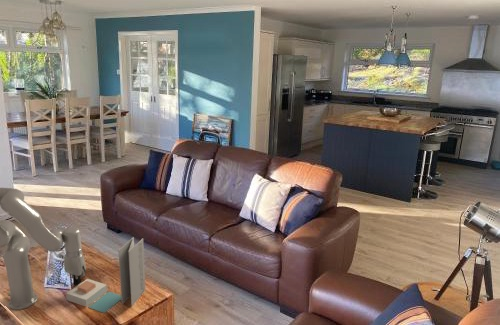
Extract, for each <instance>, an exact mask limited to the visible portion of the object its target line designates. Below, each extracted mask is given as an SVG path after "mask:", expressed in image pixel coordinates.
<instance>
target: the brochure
mask: <svg viewBox="0 0 500 325" xmlns="http://www.w3.org/2000/svg"><path fill="white" fill-rule="evenodd" d="M134 239H135V237H134V236H133V237H131V239H129V240H128V241H126V243H125V244H123V245H122V247H120V248H119V249H118V250H117V251H118V252H117V253H118V264H119V265H118V268H119V278H120V279H119V282H120V295H121V305H124V304H125V302H127V300H129V298H130V306H131V307H134V305H135V303H136V302H137V301H138V300H139V299H140V298H141V296H142V295H143V294H144V292H145V291H146V270H145V269H146V268H145V250H144V249H145V248H144V238H141V239H140V240H139V241H138V242H137V243H136V244H135V240H134Z"/></svg>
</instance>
